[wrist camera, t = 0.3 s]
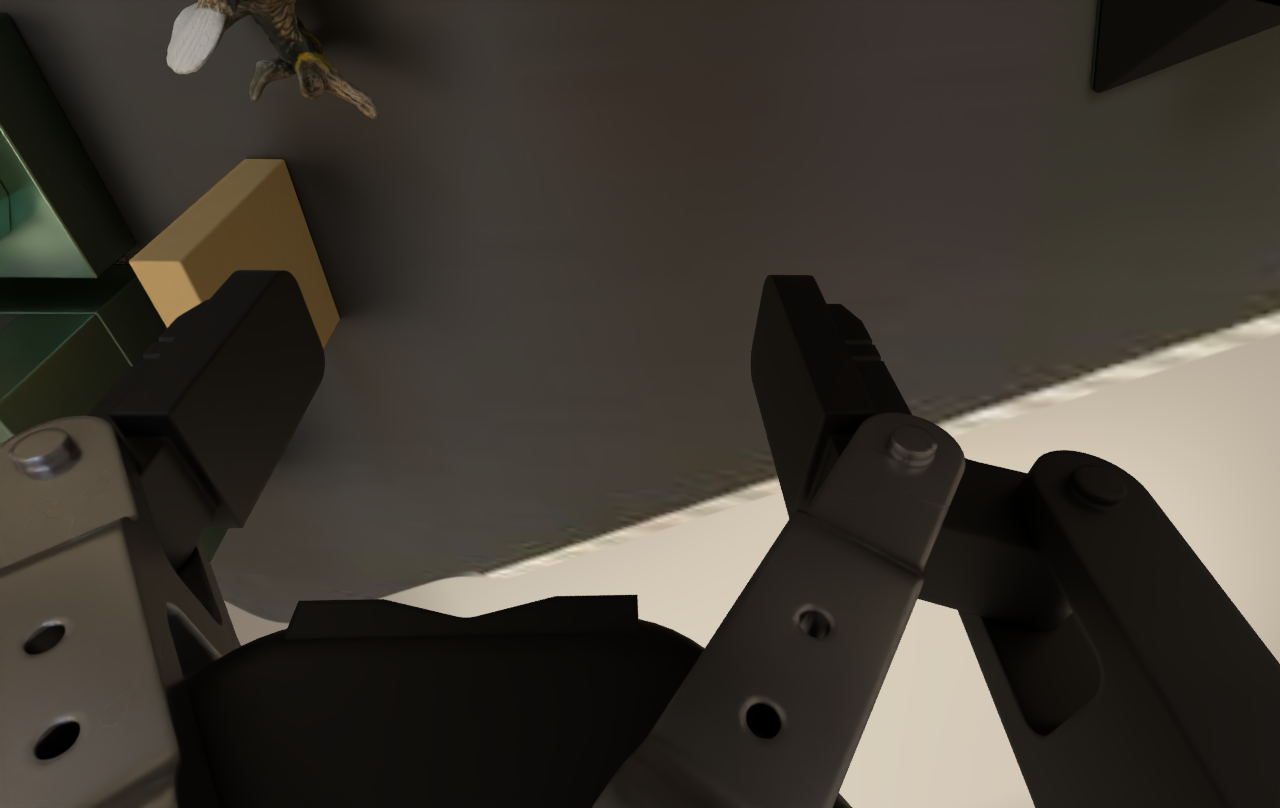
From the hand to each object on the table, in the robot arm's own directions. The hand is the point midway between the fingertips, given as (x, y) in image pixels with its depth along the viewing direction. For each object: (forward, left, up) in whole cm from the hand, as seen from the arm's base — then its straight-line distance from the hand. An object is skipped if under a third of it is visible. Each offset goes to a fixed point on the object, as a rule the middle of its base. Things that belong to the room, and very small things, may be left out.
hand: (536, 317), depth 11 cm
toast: (+8, -13, -17) cm, 23 cm away
